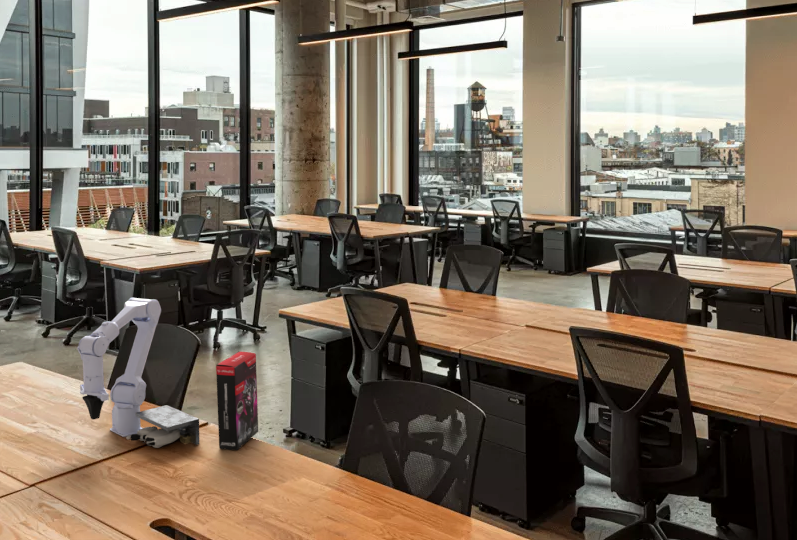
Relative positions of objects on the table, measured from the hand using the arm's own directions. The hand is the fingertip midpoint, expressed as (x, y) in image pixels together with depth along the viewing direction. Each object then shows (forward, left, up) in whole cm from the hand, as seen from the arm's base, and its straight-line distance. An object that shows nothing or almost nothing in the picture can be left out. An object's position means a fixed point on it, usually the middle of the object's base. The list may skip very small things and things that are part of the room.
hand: (95, 418), depth 229 cm
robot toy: (+9, +15, -10) cm, 20 cm away
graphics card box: (+26, +34, -10) cm, 44 cm away
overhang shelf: (+10, +18, -9) cm, 23 cm away
